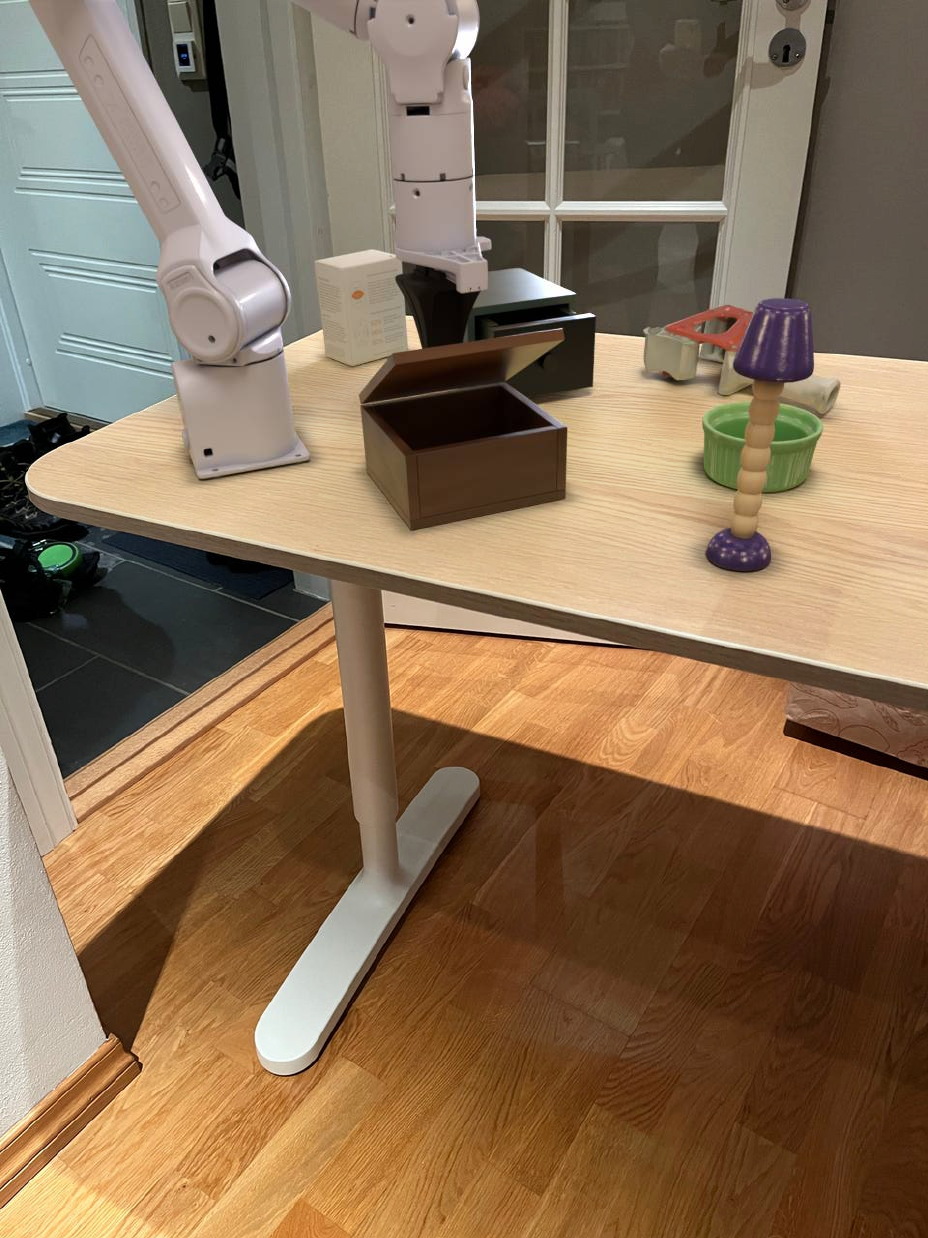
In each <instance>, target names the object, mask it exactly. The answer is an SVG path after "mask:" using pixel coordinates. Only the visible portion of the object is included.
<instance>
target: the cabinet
mask: <svg viewBox="0 0 928 1238" xmlns="http://www.w3.org/2000/svg"><path fill="white" fill-rule="evenodd" d="M551 305H561V306H563V307H565V308H567V309H569V310H571V311H573V312H575V313H577V293H575V292H574V291H572V290H569V289H567V288H564V287H563V286H560V285H558V284H556V283H554V282H551V281H549V280H547V279H545V278H543V277H541V276H538V275H536V274H534V273H532V272H530V271H527V270H525V269H523V268H521V267H514V268H507V269H499V270H491V271H489V270H488V290H484V291H481V292H480V293H479V295H478V297H477V299H476V301H475V303H474V306H473V308H472V311H471V313H470V316H469V319H468V323H467V326H466V331H465V335H464V340H463V343H466V342H472V341H475V317H474V316H479V315H486V314H493V313H500V312H508V311H515V310H522V309H529V308H537V307H544V306H551ZM478 386H483V385H478ZM472 387H477V386H472ZM465 388H471V387H465ZM465 388H459V389H465Z"/></svg>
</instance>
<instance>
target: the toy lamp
mask: <svg viewBox="0 0 928 1238" xmlns="http://www.w3.org/2000/svg"><path fill="white" fill-rule="evenodd" d="M752 312H753V315H752V317H751V319H750V322H749V324H748V326H747V329H746V331H745V333H744V336H743V338H742V340H741V343H740V345H739V348H738V350H737V353H736V355H735V358H734V361H733V369H734V370H735V372H737V373H738V374H739V375H742V376H744V377H747V378H750V379H754V381H753V384H752V393H753V397H752V399H751V400H750V401H751V403H750V405H749V418H750V421H749V422H748V424H747V426H746V430H745V441H746V444H745V446H744V447H743V449H742V452H741V464H742V468H741V469H740V471H739V473H738V477H737V486H738V489H736V490H737V491H736V492H735V494H734V497H733V510H734V511H733V512H732V515H731V516H730V521H729V527H727V528H724V529H722V530H720V531H718V532H716V533H715V534H714V536H713V537H712V538H711V539H710V541H709V542H708V544H707V547H706V550H705V555H706V557H707V559H708V560H709V561H710V562H711V563H712V564H714V565H716V566H717V567H721V568H723V569H725V570H732V571H738V572H754V571H759V570H761V569H765V568H766V567H767V566H769V565H770V564H771V562H772V550H771V546H770V544H769V542H768V540H767V539H766V538H765V536H764V535H762V533H760V532H759V531H757V529H758V526H759V516H758V513H759V511H760V510H761V508H762V505H763V494H762V493H763V492H761V491H762V490H763V488H764V487H765V484H766V480H767V474H766V470H765V469H766V467H767V466H768V464H769V462H770V457H771V450H770V444H771V443H772V441H773V439H774V435H775V426H774V421H775V420H776V418H777V416H778V413H779V408H780V404H781V403H780V400H779V398H780V397H781V396H780V395H781V394H782V391H783V388H784V383H788V382H790V383H792V382H797V381H801V380H805V379H807V378H809V377H810V376H811V375H812V374H814V370H815V353H814V335H813V323H812V322H813V321H812V319H813V317H812V309H811V307H810V305H809V304H808V303H807V302H805V301H802V300H799V299H793V298H784V297H782V298H781V297H777V298H776V297H775V298H765V299H762V300H761V301H759V302H758V303H757V305H756V306H755V308H754V311H752ZM779 403H780V404H779Z"/></svg>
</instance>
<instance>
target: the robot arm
mask: <svg viewBox="0 0 928 1238" xmlns="http://www.w3.org/2000/svg"><path fill="white" fill-rule="evenodd" d="M27 1H28V4H29V5H30V7H31V10H32V11H33V13H34V15H35V17H36V18H37V20H38V23H39V24H40V26H41V28H42V30H43V31H44V33H45V35H46V37H47V39H48V40H49V42H50V45H51V46H52V48H53V50H54V52H55V53H56V55H57V57H58V59H59V61H60V63H61V65H62V67H63V68H64V70H65V72H66V74H67V76H68V77H69V79H70V81H71V83H72V85H73V86H74V88H75V90H76V92H77V94H78V96H79V98H80V99H81V101H82V103H83V105H84V106H85V108H86V110H87V112H88V114H89V116H90V117H91V120H92V121H93V123H94V125H95V127H96V129H97V130H98V133H99V135H100V136H101V138H102V140H103V142H104V143H105V145H106V147H107V149H108V150H109V153H110V155H111V156H112V159H113V160H114V162H115V163H116V165H117V167H118V170H119V171H120V172H121V175H122V177H123V178H124V180H125V182H126V183H127V185H128V187H129V189H130V190H131V193H132V195H133V196H134V198H135V200H136V202H137V204H138V205H139V208H140V209H141V211H142V213H143V215H144V217H145V219H146V220H147V222H148V224H149V226H150V228H151V229H152V231H153V233H154V235H155V237H156V239H157V241H158V242H159V244H160V247H161V250H160V255H159V261H158V263H157V269H156V274H155V282H156V284H157V285H158V288H159V290H160V291H161V294H162V295H163V297H164V301H165V303H166V308H167V315H168V322H169V325H170V330H172V333H173V335H174V337H175V339H176V340H177V342H178V343H179V345H180V346H181V347H182V348H183V349H184V350H185V351H186V352H187V353H189V355H191V356H190V357H188V358H185V359H182V360H176V361H172V362H171V363H170V368H171V373H172V374H171V375H172V379H173V384H174V389H175V393H176V394H175V395H176V398H177V403H178V408H179V412H180V417H181V422H182V427H183V428H182V429H181V430H180V431H181V437H182V441H183V445H184V449H185V451H188V453H189V456H190V459H191V461H192V464H193V467H194V470H195V473H196V476H197V478H198V479H200V480H204V479H210V478H215V477H216V478H217V477H223V476H227V475H231V474H232V475H234V474H239V473H244V472H250V471H255V470H261V469H267V468H272V467H279V466H285V465H291V464H295V463H301V462H306V461H309V460H310V459H311V455H310V452H309V451H308V450H307V448H306V446H305V445H304V443H303V442H302V440H301V439H300V437H299V436H298V434H297V433H296V426H295V418H294V412H293V406H292V398H291V397H292V396H291V391H290V384H289V377H288V370H287V364H286V355H285V350H284V343H283V334H282V326H283V325H284V323H285V322H286V321H287V319H288V317H289V315H290V312H291V306H292V296H291V291H290V287H289V285H288V282H287V279H286V278H285V277H284V275H283V273H282V272H281V271H280V270H279V269H278V267H277V266H275V265H274V264H273V263H272V262H271V261H270V260H268V259H267V258H266V256H265V255H263V253H262V251H261V250H260V249H259V247H258V244H257V243H256V241H255V239H254V237H253V236H252V235H251V234H250V233H249V232H247V231H246V230H245V229H244V228H242V227H241V226H239V225H238V224H236V223H235V222H233V221H232V220H231V219H229V217H228V216H226V215H225V213H224V211H223V209H222V208H221V205H220V203H219V201H218V200H217V198H216V195H215V194H214V191H213V190H212V188H211V186H210V184H209V181H208V180H207V178H206V175H205V174H204V172H203V169H202V167H201V166H200V163H198V160H197V159H196V157H195V154H194V152H193V150H192V148H191V146H190V145H189V143H188V141H187V138H186V137H185V134H184V132H183V131H182V129H181V127H180V125H179V123H178V121H177V119H176V116H175V115H174V113H173V111H172V109H171V107H170V105H169V103H168V101H167V99H166V97H165V96H164V93H163V91H162V89H161V88H160V86H159V84H158V82H157V79H156V78H155V76H154V74H153V72H152V70H151V68H150V65H149V64H148V62H147V60H146V58H145V56H144V54H143V52H142V50H141V48H140V47H139V44H138V42H137V40H136V38H135V36H134V34H133V32H132V30H131V28H130V27H129V25H128V23H127V21H126V18H125V17H124V15H123V13H122V11H121V9H120V7H119V5H118V3H117V1H116V0H27ZM289 1H290V2H292V3H293V4H294V5H297V6H298V7H301V8H303V10H306V11H308V12H309V13H311V14H313V15H315V16H316V17H318V18H320V19H321V20H324V21H326V22H327V23H329V24H330V25H332V26H334V27H336V28H337V29H339V30H341V31H343V32H345V33H346V34H348V35H350V36H352V38H353V37H354V38H355V39H357V40H359V41H360V42H362V43H364V44H367V45H370V44H371V46H372V48H373V50H374V52H375V54H376V55H377V57H378V58H379V60H380V61H381V62H382V63H383V65H384V66H385V75H386V86H387V115H388V126H389V129H388V130H389V141H390V142H389V143H390V154H391V157H390V158H391V169H392V186H393V199H394V200H393V201H394V213H395V228H396V229H394V230H393V234H394V239H393V240H394V251H395V252H394V253H395V254H394V255H396V258H397V259H398V260H400V261H402V263H406V264H407V263H408V264H413V265H415V268H413V269H412V271H413V272H405V273H403V274H399V275H397V276H396V277H395V280H396V283H397V285H398V287H399V288H400V290H401V292H402V293H403V295H404V300H405V301H406V304H407V306H408V308H409V310H410V313H411V315H412V318H413V321H414V324H415V328H416V332H417V335H418V339H419V342H420V346H421V349H425V348H431V347H438V346H445V345H452V344H459V343H463V340H464V335H465V331H466V326H467V323H468V319H469V316H470V313H471V311H472V308H473V306H474V303H475V301H476V299H477V297H478V295H479V293H480V292H481V291H484V290H488V272H489V262H488V260H487V259H486V258H484V257H483V255H482V252H488V251H490V250H492V240H491V239H490V238H487V237H485V236H477V228H476V227H477V226H476V190H475V189H476V188H475V187H476V186H475V183H476V182H475V145H474V106H473V105H474V103H473V98H472V84H471V81H472V78H471V77H472V76H471V58H470V57H468V56H469V55H470V53H471V52H472V50H473V49H474V47H475V45H476V43H477V40H478V36H479V32H480V25H481V23H480V21H481V20H480V19H481V18H480V17H481V16H480V10H479V5H478V2H477V0H289Z"/></svg>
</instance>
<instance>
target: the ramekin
mask: <svg viewBox="0 0 928 1238" xmlns="http://www.w3.org/2000/svg"><path fill="white" fill-rule="evenodd" d="M751 401H752V400H744V401H735V402H728V403H723V404H720V405H719V404H718V405H716V406H714V407H711V408H710V409H709V410H707V411H706V412H704V414H703V416H702V419H701V425H702V430H703V469H704V471H705V473H706V475H707V476H708V477H709V478H710V479H711V480H712V481H714V482H716V483H718V484H720V485H723V486H724V487H728V488H731V489H734V490H738V486H737V477H738V473H739V471H740V469H741V468H742V464H741V452H742V449H743V447H744V446H745V444H746V441H745V430H746V426H747V424H748V422H749V421H750V418H749V405H750V403H751ZM779 404H780V408H779V413H778V416H777V418H776V420H775V421H774V426H775V435H774V439H773V441H772V443H771V444H770V450H771V457H770V462H769V464H768V466H767V467H766V469H765V470H766V474H767V480H766V484H765V487H764V488H763V490H762V491H761V493H775V492H783V491H787V490H790V489H793V488H795V487H798V486H800V485H801V484H802V483H803V482H805V481H806V479H807V477H808V475H809V472H810V469H811V466H812V465H811V464H812V461H813V458H814V454H815V450H816V448H817V445H818V444H817V443H818V442H819V440H820V438H821V437H822V434H823V432H824V423H823V422H822V420H821V419H820V418H819V416H817V415H815V414H814V413H811V412H810V411H808V410H805V409H803V408H800V407H797V406H794V405H790V404H785V403H781V402H779Z"/></svg>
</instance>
